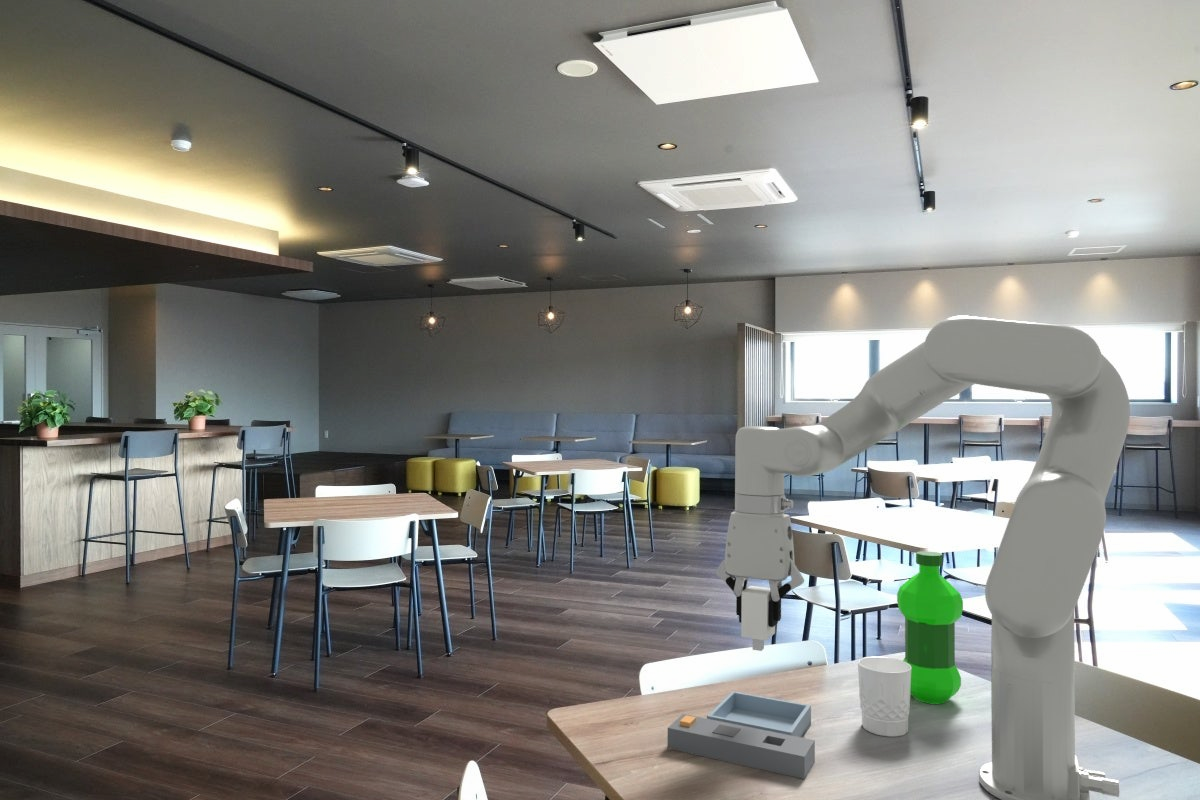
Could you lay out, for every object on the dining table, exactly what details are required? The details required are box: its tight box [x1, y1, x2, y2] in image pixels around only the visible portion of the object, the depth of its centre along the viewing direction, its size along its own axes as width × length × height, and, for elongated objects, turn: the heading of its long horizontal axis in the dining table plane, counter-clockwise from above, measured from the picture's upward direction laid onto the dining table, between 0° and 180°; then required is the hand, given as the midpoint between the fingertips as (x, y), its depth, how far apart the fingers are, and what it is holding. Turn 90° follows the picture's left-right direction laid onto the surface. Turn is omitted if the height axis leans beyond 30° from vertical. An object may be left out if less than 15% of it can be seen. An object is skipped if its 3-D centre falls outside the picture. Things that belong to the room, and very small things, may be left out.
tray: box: [706, 690, 812, 738], centre depth 120 cm, size 13×12×3 cm
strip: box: [667, 713, 816, 780], centre depth 111 cm, size 20×6×4 cm, turn 62°
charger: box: [740, 585, 776, 652], centre depth 120 cm, size 4×5×9 cm
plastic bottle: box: [896, 550, 964, 705], centre depth 134 cm, size 10×10×25 cm
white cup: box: [857, 655, 912, 738], centre depth 121 cm, size 8×8×10 cm
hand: (758, 621), depth 120 cm, fingers closed on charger, 4 cm apart
